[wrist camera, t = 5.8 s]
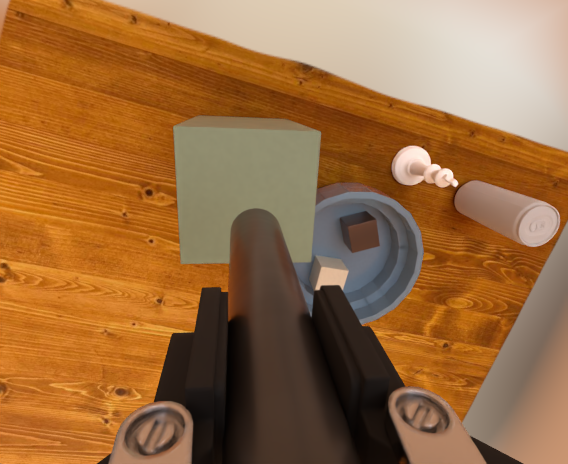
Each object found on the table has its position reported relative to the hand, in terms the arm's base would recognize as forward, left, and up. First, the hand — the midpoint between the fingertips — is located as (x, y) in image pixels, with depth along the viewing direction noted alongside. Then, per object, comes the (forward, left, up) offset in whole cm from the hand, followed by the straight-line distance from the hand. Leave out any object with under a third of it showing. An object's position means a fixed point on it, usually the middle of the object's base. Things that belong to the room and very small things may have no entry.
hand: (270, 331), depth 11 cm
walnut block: (+8, +14, -34) cm, 38 cm away
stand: (0, 0, -34) cm, 34 cm away
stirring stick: (0, 0, -9) cm, 9 cm away
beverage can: (+4, +30, -35) cm, 46 cm away
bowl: (+11, +13, -34) cm, 38 cm away
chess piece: (0, +21, -35) cm, 40 cm away
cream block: (+14, +11, -34) cm, 38 cm away
